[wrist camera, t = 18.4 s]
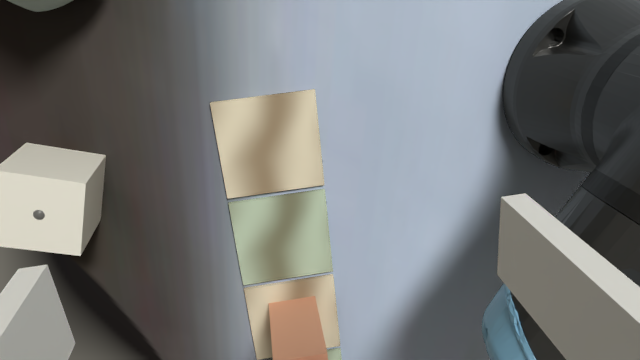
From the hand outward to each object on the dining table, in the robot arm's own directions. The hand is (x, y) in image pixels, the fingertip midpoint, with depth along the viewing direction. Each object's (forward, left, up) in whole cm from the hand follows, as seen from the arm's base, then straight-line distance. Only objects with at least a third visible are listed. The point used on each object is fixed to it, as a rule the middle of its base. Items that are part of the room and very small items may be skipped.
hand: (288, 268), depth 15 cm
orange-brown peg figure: (0, +24, -28) cm, 37 cm away
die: (+17, +7, -29) cm, 34 cm away
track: (0, +20, -29) cm, 35 cm away
